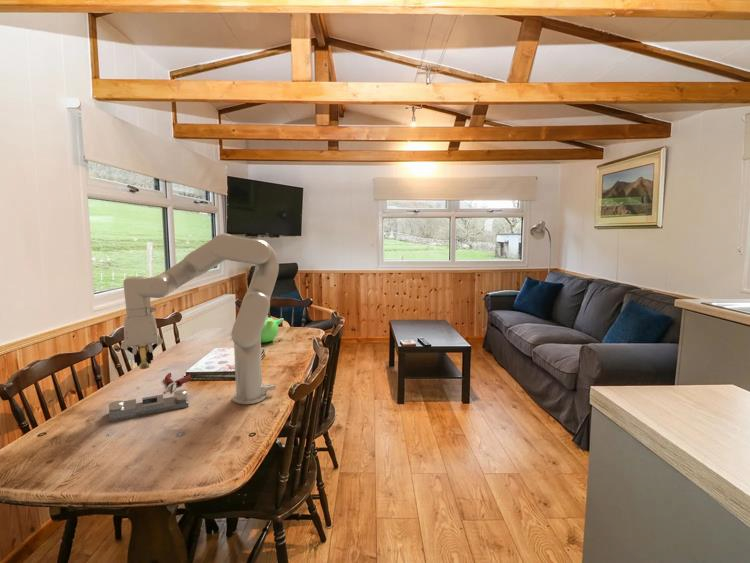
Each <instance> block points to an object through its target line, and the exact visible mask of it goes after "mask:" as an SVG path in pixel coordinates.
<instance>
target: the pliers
mask: <svg viewBox="0 0 750 563" xmlns="http://www.w3.org/2000/svg"><path fill="white" fill-rule="evenodd" d="M189 380H190V381H192V379H191V375H190V374H188V375H186V376H184V377H181V378H179V379H176V380H173V379H172V373H171V372H169V373H167V374H166V375H165V377H164V381H165V382H166V384H165V385H166V389H165V391H164V393H168V392H169V391H171V390H172V392H173V393H174V392H175V391H176V389H177V387H182V386H183V384H186V383H188V382H189Z"/></svg>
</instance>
